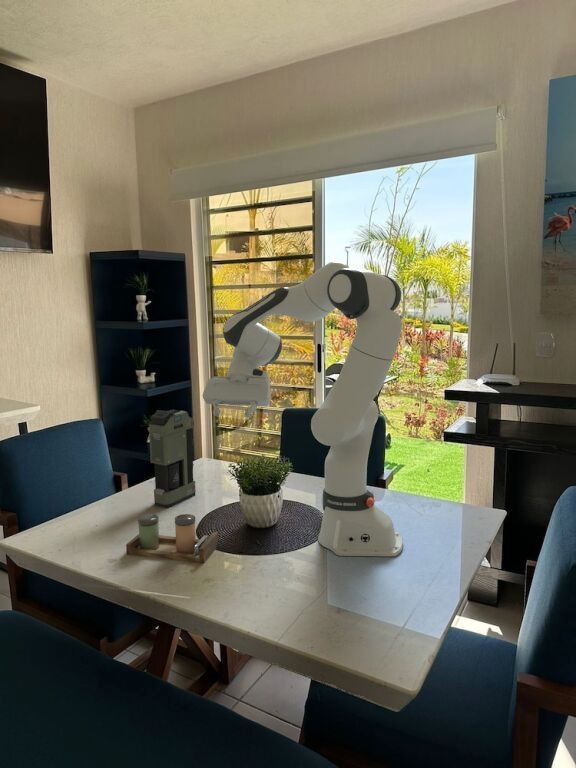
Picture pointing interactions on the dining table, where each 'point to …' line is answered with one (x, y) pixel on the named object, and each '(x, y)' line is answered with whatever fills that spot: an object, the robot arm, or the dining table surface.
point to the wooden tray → (173, 549)
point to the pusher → (200, 544)
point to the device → (172, 457)
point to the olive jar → (149, 532)
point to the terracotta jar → (185, 534)
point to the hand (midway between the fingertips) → (231, 415)
